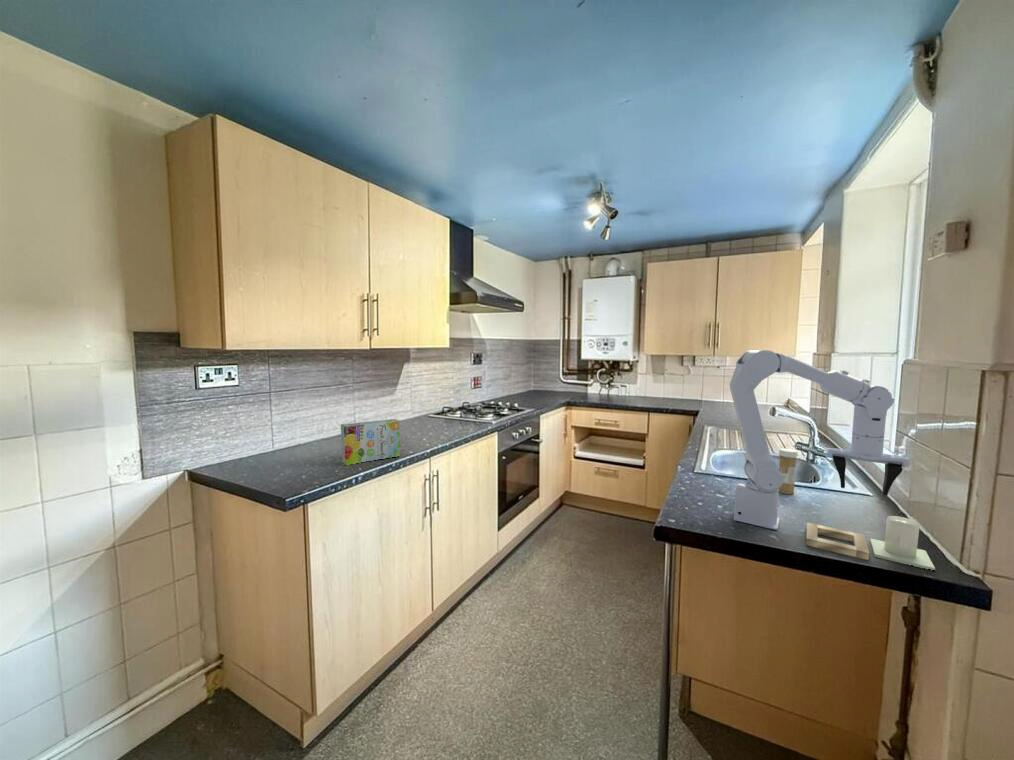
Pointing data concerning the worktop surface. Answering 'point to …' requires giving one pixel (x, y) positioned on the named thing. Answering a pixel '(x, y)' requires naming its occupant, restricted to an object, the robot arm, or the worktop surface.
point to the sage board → (920, 560)
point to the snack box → (370, 441)
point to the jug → (901, 536)
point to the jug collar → (856, 551)
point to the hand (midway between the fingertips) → (863, 490)
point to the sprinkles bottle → (787, 469)
